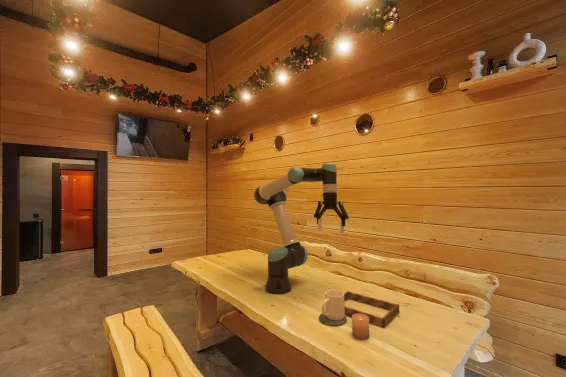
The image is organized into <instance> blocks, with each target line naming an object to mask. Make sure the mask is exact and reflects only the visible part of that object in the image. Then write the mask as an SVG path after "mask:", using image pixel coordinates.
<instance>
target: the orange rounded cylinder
mask: <svg viewBox="0 0 566 377" xmlns="http://www.w3.org/2000/svg"><path fill="white" fill-rule="evenodd" d="M351 325H352V326H351V327H352V328H351V330H352V331H351V332H352V333H351V334H352V337H353V338H355V340H360V341H365V340H368V339H370V323H369V317H368V316H367V315H365V314H360V313H357V314H353V315H352V317H351Z"/></svg>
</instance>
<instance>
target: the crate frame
mask: <svg viewBox="0 0 566 377" xmlns="http://www.w3.org/2000/svg"><path fill="white" fill-rule="evenodd" d="M343 293H344V303H345V302H346V301H348V300H351V301H354V302H358V303H361V304H363V305H364V304H366V305H368V306H372V307H376V308H379V309H383V310H386V311H388V312H387V313H386V314H385V315H384V316H383V317H382V316H378V315H374V314H371V313H368V312H365V311H362V310H359V309H355V308H353V307H349V306H345V305H344V309H345V316H346V317H349V318H352V315H353V314H357V313H360V314H365V315H367V316H368V317H369V324H371V325H374V326H376V327H380V328H384V329H385V328H386V327H387V326H388V325H389V324H390V323H391V322H392V321H393V320H394V319H395V317H396V316H398V315H399V313H400V304H397V303H394V302H390V301H386V300H382V299H379V298H374V297H370V296H367V295H364V294H359V293H355V292H352V291H346V292H343Z"/></svg>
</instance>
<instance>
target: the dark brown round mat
mask: <svg viewBox="0 0 566 377" xmlns="http://www.w3.org/2000/svg"><path fill="white" fill-rule="evenodd" d="M318 320H319V322H320V323H321V324H322V325H325V326H328V327H341V326H343V325H345V324H347V322H348V319H347V316H346V315H345V316H344V318H343V319H342V320H338V321H336V320H331V319H329V318H327V316H324V315H323V313H322V312H321V314H319V316H318Z"/></svg>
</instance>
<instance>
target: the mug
mask: <svg viewBox="0 0 566 377" xmlns="http://www.w3.org/2000/svg"><path fill="white" fill-rule="evenodd" d="M344 293H345V292H343V291H342V290H338V289H328V290H327V291H325V293H324V300H323V302H322V303H321V314H322V313H323V315H324V316H327V318H329V319H331V320H336V321H338V320H342V319H343V318H344V316H346V315H345V309H344V306H345V302H344Z"/></svg>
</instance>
